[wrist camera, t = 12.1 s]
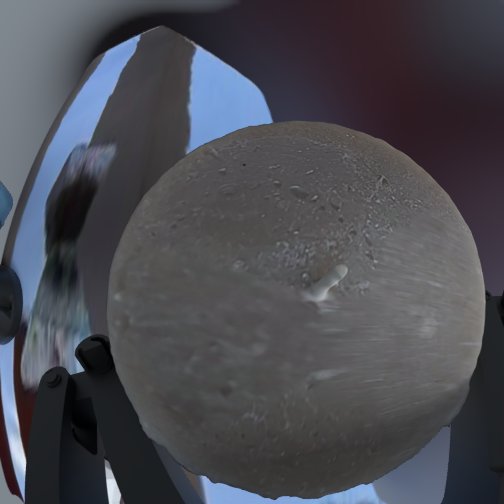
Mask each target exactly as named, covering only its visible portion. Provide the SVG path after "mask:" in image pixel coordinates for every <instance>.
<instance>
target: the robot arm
mask: <svg viewBox="0 0 504 504" xmlns="http://www.w3.org/2000/svg"><path fill="white" fill-rule="evenodd" d="M12 205H13V199H12V196H11V194H10V193H9V191H8V190H7V189H6V187H5V186H4V185H3V183H2V182H1V181H0V229H1V227H2V226H3V225H4V221H5V219H6V217H7V216H8V214H9V212H10V211H11V209H12ZM485 302H486V304H485V322H484V333H483V337H482V346H481V350H480V353H479V356H478V358H477V363H476V368H475V369H474V371H473V374H472V376H471V378H470V382H469V387H470V390H469V393H468V396H467V398H466V401H465V403H464V405H463V406H462V409H461V411H460V413H459V414H458V415H457V416H456V417H455V418H454V419H453V421H452V422H451V436H450V451H449V463H448V472H447V481H446V488H445V494H444V498H443V500H442V503H441V504H504V291H503V294H502V296H492V295H491V294H490V293H489V292H488V291H487V290H485ZM22 304H23V300H22V290H21V285H20V281H19V279H18V277H17V275H16V273H15V272H14V271H13V270H12V269H10V268H8V267H6V266H3V265H0V345H4V344H7V343H8V342H10V341H11V340H12V339H13V337H14V336H15V334H16V332H17V330H18V327H19V324H20V320H21V315H22ZM75 356H76V358H77V359H78V361H79V362H80V364H81V365H82V367H83V368H84V370H85V371H84V372H80V373H76V374H73V375H70V374H69V373H68V371H67V370H66V368H63V367H54V368H51V369H49V370H48V371H47V372H46V373H45V374H44V375H43V376H42V378H41V380H40V384H39V388H38V392H37V397H36V401H35V406H34V411H33V417H32V423H31V429H30V436H29V443H28V451H27V462H26V475H25V504H109V499H108V491H107V482H106V470H105V456H104V449H105V452H106V455H107V458H108V461H109V464H110V467H111V470H112V473H113V475H114V478H115V481H116V483H117V486H118V488H119V491H120V493H121V496H122V498H123V501H124V503H125V504H204V503H203V502H202V500H201V499H200V497H199V496H198V494H197V492H196V491H195V489H194V488H193V486H192V485H191V483H190V481H189V480H188V478H187V476H186V475H185V473H184V471H183V470H182V468H181V466H180V464H178V463H177V462H175V461H174V459H173V458H172V457H171V456H170V455H169V454H168V453H167V450H166V448H164V447H163V446H162V445H159V444H155V442H154V441H153V440H151V438H149V437H148V436H147V435H146V433H145V432H144V430H143V429H142V425H141V424H140V422H139V416H138V414H137V413H136V411H135V409H134V407H133V405H132V403H131V401H130V400H129V398H128V396H127V394H126V392H125V389H124V387H123V385H122V383H121V381H120V379H119V376H118V374H117V372H116V367H115V363H114V361H113V356H112V354H111V345H110V340H109V339H108V337H107V336H105V335H100V334H96V335H93V336H89V337H88V338H86V339H84V340H83V341H82V342H81V343H80V344H79V345H78V346H77V348H76V350H75Z"/></svg>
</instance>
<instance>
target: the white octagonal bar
mask: <svg viewBox="0 0 504 504" xmlns="http://www.w3.org/2000/svg"><path fill="white" fill-rule="evenodd" d="M105 470H106V482H107V491H108V499H109V504H119V503H120V497H121V493H120V491H119V488H118V486H117V483H116V481H115V478H114V475H113V473H112V470H111V467H110V464H109V462H108V461H107V460H105Z"/></svg>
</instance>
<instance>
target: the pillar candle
mask: <svg viewBox="0 0 504 504" xmlns="http://www.w3.org/2000/svg"><path fill="white" fill-rule="evenodd" d="M107 303H108V305H107V315H106V316H107V321H108V331H109V340H110V345H111V354H112V356H113V361H114V363H115V367H116V372H117V374H118V376H119V379H120V381H121V383H122V385H123V387H124V389H125V392H126V394H127V396H128V398H129V400H130V401H131V403H132V405H133V407H134V409H135V411H136V413H137V414H138V416H139V422H140V424H141V425H142V429H143V430H144V432H145V433H146V435H147V436H148V437H149V438H151V440H153V441H154V442H155V444H159V445H162V446H163V447H164V448H166V450H167V453H168V454H169V455H170V456H171V457H172V458H173V459H174V461H175V462H177V463H178V464H180V465H182V466H183V468H185V469H186V470H187V471H189V472H192V473H193V474H195V475H203V476H206V477H207V478H209V480H210V481H211V482H212V483H223V484H226V485H229V486H231V487H235V488H239V489H242V490H246V491H248V492H251V493H255V494H258V495H260V496H262V497H264V498H270V499H273V500H276V499H277V498H279V497H281V496H290V497H299V498H302V499H319V498H321V497H323V496H325V495H329V494H334V493H338V492H342V491H346V490H348V489H351V488H354V487H356V486H358V485H360V484H365V485H367V484H370V483H372V482H373V481H375V480H377V479H379V478H381V477H382V476H384V475H385V474H387V473H388V472H390V471H392V470H394V469H396V468H397V467H398V466H400V465H401V464H402V463H404V462H406V461H407V460H409V459H411V458H412V457H414V456H415V455H416V454H418V453H419V452H420V451H421V449H422V448H424V447H425V445H426V444H427V443H429V442H430V441H431V440H432V439H433V438H434V437H435V436H436V435H437V434H438V432H439V431H440V430H441V429H442V428H443V427H445V426H448V427H450V424H451V422H452V421H453V419H454V418H455V417H456V416H457V415H458V414H459V413H460V411H461V409H462V406H463V405H464V403H465V401H466V398H467V396H468V393H469V390H470V387H469V382H470V378H471V376H472V374H473V371H474V369H475V368H476V363H477V358H478V356H479V353H480V350H481V346H482V337H483V333H484V322H485V304H486V302H485V288H484V282H483V274H482V270H481V265H480V261H479V257H478V254H477V249H476V244H475V242H474V239H473V236H472V234H471V232H470V229H469V227H468V226H467V224H466V223H465V221H464V219H463V218H462V216H461V214H460V213H459V211H458V209H457V208H456V206H455V204H454V203H453V202H452V200H451V199H450V197H449V196H448V194H447V193H446V192H445V191H444V190H443V189H442V188H441V187H440V186H439V185H438V184H437V182H436V181H435V180H434V179H433V178H432V177H431V176H430V175H429V174H428V173H427V172H426V171H425V170H423V169H422V168H421V167H420V166H418V165H417V164H416V163H415V162H414V161H413V160H412V159H410V158H409V157H408V156H407V155H405V154H404V153H402V152H400V151H398V150H396V149H395V148H393V147H392V146H390V145H389V144H388V143H386V142H385V141H383V140H381V139H376V138H374V137H372V136H369V135H367V134H365V133H362V132H358V131H354V130H352V129H348V128H345V127H342V126H339V125H336V124H327V123H325V122H308V121H288V122H276V123H271V124H262V125H258V126H248V127H246V128H242V129H238V130H236V131H234V132H232V133H229V134H227V135H225V136H223V137H221V138H218V139H215V140H212V141H210V142H208V143H205V144H204V145H202V146H200V147H198V148H196V149H195V150H193V151H192V152H190V153H188V154H187V155H186V156H185V157H183V158H182V159H180V160H179V161H178V162H177V163H176V164H175V165H173V166H172V167H171V168H170V169H169V170H167V171H166V172H165V173H164V174H163V175H162V176H161V177H160V178H159V179H158V181H157V182H156V183H155V184H154V185H153V186H152V187H151V188H150V189H149V190H148V192H147V193H146V194H145V195H144V196H143V198H142V200H141V201H140V203H139V204H138V205H137V206H136V208H135V211H134V212H133V214H132V215H131V217H130V220H129V221H128V223H127V225H126V227H125V229H124V232H123V234H122V236H121V239H120V242H119V244H118V247H117V249H116V252H115V254H114V257H113V261H112V265H111V269H110V276H109V284H108V298H107Z"/></svg>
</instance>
